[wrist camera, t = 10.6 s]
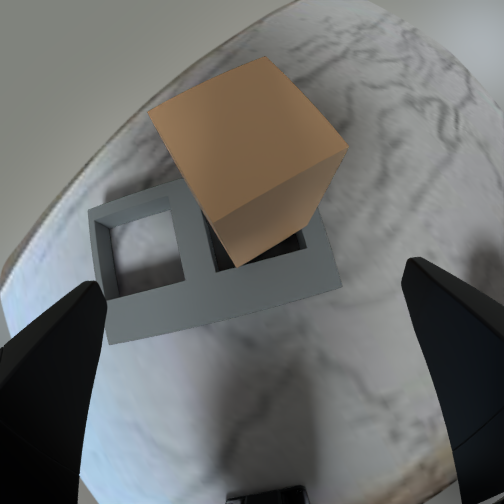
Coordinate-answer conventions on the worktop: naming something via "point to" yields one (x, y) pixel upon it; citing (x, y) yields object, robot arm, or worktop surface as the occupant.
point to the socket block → (201, 269)
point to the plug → (251, 155)
